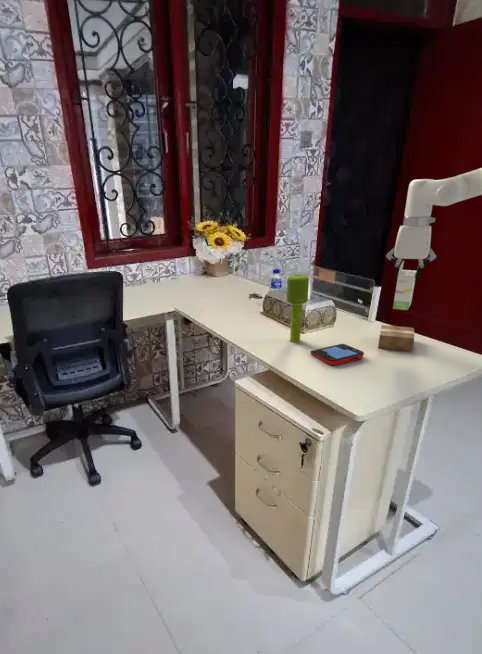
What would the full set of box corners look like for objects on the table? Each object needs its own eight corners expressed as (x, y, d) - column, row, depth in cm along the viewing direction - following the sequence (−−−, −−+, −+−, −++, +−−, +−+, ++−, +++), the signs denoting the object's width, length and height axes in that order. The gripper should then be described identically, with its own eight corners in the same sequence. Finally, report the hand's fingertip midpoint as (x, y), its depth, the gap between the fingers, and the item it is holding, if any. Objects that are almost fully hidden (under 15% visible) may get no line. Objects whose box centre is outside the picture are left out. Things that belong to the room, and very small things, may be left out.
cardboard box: (412, 340, 153) (414, 327, 151) (411, 351, 145) (414, 338, 142) (379, 337, 158) (381, 324, 156) (377, 348, 149) (379, 334, 147)
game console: (342, 346, 152) (343, 340, 151) (366, 358, 141) (367, 353, 140) (308, 353, 148) (309, 347, 147) (331, 367, 137) (331, 361, 136)
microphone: (282, 337, 163) (284, 274, 152) (301, 335, 163) (304, 272, 152) (288, 345, 155) (291, 279, 144) (308, 343, 156) (312, 277, 145)
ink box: (408, 310, 139) (415, 266, 133) (392, 309, 142) (399, 265, 135) (411, 303, 146) (419, 261, 139) (396, 302, 148) (403, 260, 142)
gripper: (446, 220, 131) (434, 277, 139) (387, 220, 138) (380, 274, 146) (447, 223, 125) (436, 282, 133) (386, 223, 132) (378, 280, 140)
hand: (406, 278), depth 140 cm, fingers closed on ink box, 5 cm apart
